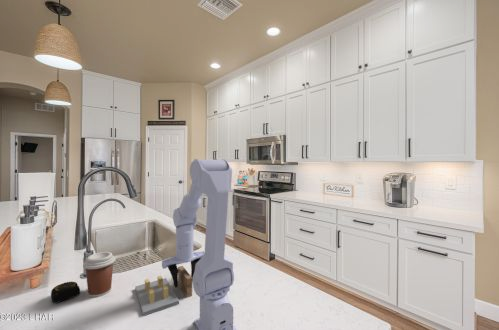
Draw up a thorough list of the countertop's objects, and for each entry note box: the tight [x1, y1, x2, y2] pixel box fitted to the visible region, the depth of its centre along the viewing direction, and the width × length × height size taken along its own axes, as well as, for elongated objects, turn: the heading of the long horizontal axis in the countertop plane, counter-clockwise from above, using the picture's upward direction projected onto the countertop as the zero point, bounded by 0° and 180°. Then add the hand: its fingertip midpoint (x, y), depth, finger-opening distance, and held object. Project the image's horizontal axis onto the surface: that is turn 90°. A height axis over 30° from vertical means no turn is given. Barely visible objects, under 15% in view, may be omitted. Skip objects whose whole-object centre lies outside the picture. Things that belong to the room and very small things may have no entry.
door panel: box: [177, 265, 193, 298], centre depth 78 cm, size 10×2×6 cm, turn 34°
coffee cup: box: [82, 251, 117, 298], centre depth 76 cm, size 9×9×12 cm
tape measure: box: [50, 281, 81, 304], centre depth 73 cm, size 7×7×4 cm
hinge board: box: [135, 275, 180, 317], centre depth 74 cm, size 16×10×4 cm, turn 34°
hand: (184, 283), depth 78 cm, fingers open, 5 cm apart
